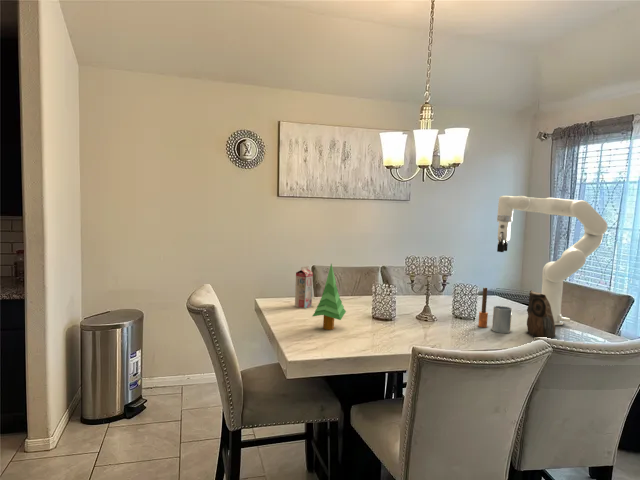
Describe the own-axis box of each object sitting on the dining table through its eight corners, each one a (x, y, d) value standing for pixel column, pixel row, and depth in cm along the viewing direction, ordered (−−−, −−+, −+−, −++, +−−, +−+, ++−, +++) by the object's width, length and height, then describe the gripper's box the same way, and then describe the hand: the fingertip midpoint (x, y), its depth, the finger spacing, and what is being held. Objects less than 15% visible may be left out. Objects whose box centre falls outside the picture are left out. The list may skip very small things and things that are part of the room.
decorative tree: (348, 332, 200) (351, 265, 198) (313, 332, 197) (316, 264, 195) (342, 324, 213) (345, 261, 211) (309, 324, 211) (311, 260, 208)
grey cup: (511, 330, 215) (513, 307, 214) (508, 334, 208) (509, 310, 207) (494, 327, 219) (495, 305, 218) (490, 330, 213) (491, 307, 212)
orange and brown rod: (487, 326, 221) (490, 287, 219) (485, 327, 218) (488, 289, 216) (479, 324, 223) (482, 286, 222) (477, 326, 220) (479, 287, 218)
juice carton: (311, 306, 249) (313, 266, 247) (304, 308, 243) (306, 267, 242) (301, 304, 252) (303, 265, 251) (294, 306, 247) (296, 266, 245)
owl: (546, 340, 199) (549, 296, 198) (517, 334, 208) (520, 291, 207) (556, 336, 208) (560, 293, 207) (528, 329, 217) (531, 288, 216)
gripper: (509, 219, 230) (506, 253, 231) (515, 219, 244) (512, 251, 246) (494, 218, 234) (491, 251, 235) (500, 218, 248) (497, 249, 250)
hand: (502, 251), depth 240 cm, fingers open, 9 cm apart
